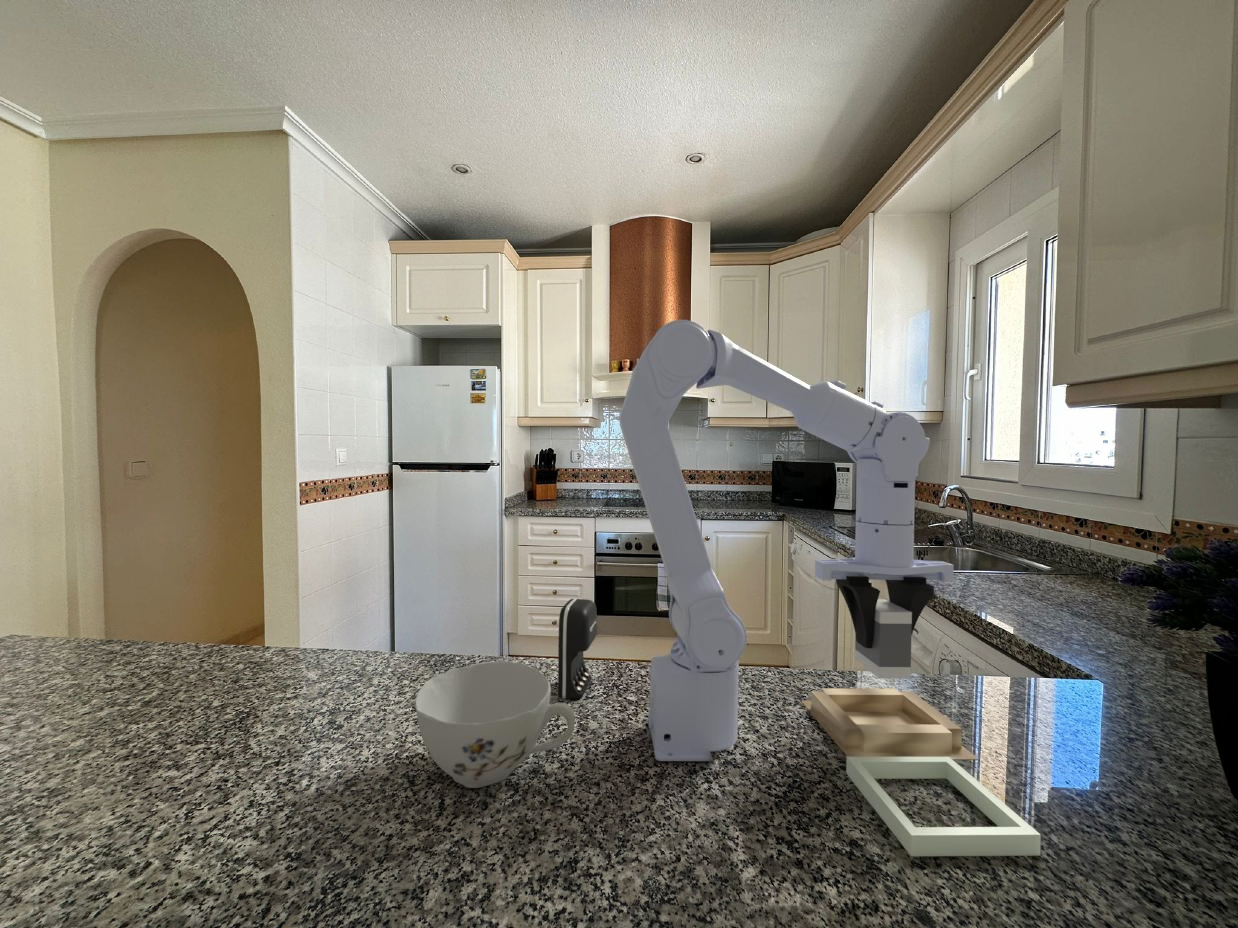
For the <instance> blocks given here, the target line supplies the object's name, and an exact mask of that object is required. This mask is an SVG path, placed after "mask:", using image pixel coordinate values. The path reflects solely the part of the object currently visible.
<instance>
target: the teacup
mask: <svg viewBox="0 0 1238 928" xmlns="http://www.w3.org/2000/svg"><path fill="white" fill-rule="evenodd" d="M551 690H552V689H551V683H550V680H548V679H547V677H546V676H544V674H543V673H542V671H541V670H539V669H538V668H535V667H532V666H531V665H529V664H525V663H521V662H513V661H487V662H477V663H473V664H470V665H466V666H461V667H453V668H450V669H447V670H446V671H445V672H444V673H439V674H437V675H434V676H433V677H431V678H430V679H429V680H427V681H425V682H424V684H423V685H422V687H421V688H420V689H419V690H418V692H417V694H416V697H415V701H414V703H415V710H416V711H415V712H416V718H417V723H418V728H419V732H420V736H421V738H422V742H423V744H424V746H425V748H426V750H427V752H428V754H429V756H430V757H431V758H432V760H433V761H434V762H435V763H436V765H437V766H438V767H439V768H440V769H441V770H442V771H444V773H446V774H447V775H448V776H451V777H452V779H453V781H454V782H456V783H457V784H460V785H462V786H464V787H465V788H469V789H477V788H478V789H479V788H482V787H483V788H484V787H487V786H491V785H494V784H497V783H499V782H502V781H504V780H505V779H506V778H507V777H509V775H510V774H512V773H513V771H514V770H515V769H517V768H518V766H520V765H521V764H522V763H523V762H524V760H525V759H526V758H527V757H529V756H530V755H532V754H535V753H542V752H545V751H549V750H554V749H558V748H559V747H561V746H562V745H563V744H564V743H566V742H567V741H569V739H570V738H571V736H572V735H573V733H574V730H575V721H576V720H575V712H574V710H573V708H572V707H571V706H570V705H569V704H568V703H565V702H555V703H553V704H550V701H551ZM557 715H558V716H563V717H564V719H565V720H566V723H567V724H566V725H567V727H566V730H565V731H564V732H562V733H561V734H560V735H559V736H557V737H555V738H553V739H551V740H546V741H545V742H541V743H538V739H539V737H540V735H541V733H542V731H543V730H544V728H545V727H546V726H547V725H548V724H549V722H550V720H551V719H552V718H553V717H554V716H557Z"/></svg>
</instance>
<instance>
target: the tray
mask: <svg viewBox="0 0 1238 928" xmlns="http://www.w3.org/2000/svg"><path fill="white" fill-rule="evenodd" d="M845 773H846V775H847V776H848V777H849V779H850V780H851V782H853V783H854V785H855V786H856V788H857V789H858V790H859V792H860V793H862V796H864V798H865V799H866V801H867V802H868V803H869V804H870V806H871V807H872V808H873V809H874V811H875V812H876V813H877V814H878V816H879V817H880V818H881V820H882V821H883V822H884V823H885V825H886V826H887V827H888V829H889V830H890V831H891V833H893V835H894V836H895V837H896V839H897V840H898V841H899V842H900V844H901V845H902V846H903V848H904V849H905V850H906V852H907V853H908V855H910V856H911V857H986V856H987V857H996V856H999V857H1002V856H1004V857H1007V856H1009V857H1013V856H1020V857H1021V856H1022V857H1023V856H1025V857H1026V856H1027V857H1028V856H1041V844H1042V843H1041V839H1042V838H1041V837H1042V836H1041V835H1042V834H1041V833H1039V832H1038V831H1037V830H1036V829H1035V828H1033V827H1032V825H1030V824H1029V823H1028V822H1027V821H1026V820H1024V819H1023V818H1022V817H1020V815H1018V814H1017V813H1016V812H1015V811H1014V810H1012V809H1011V808H1010V807H1009V806H1008V805H1006V804H1005V803H1004V802H1003V801H1002V800H1001V799H1000V798H998V797H997V796H996V795H995V794H994V793H992V792H991V791H990V789H988V788H987V787H986V786H984V785H983V784H982V783H980V782H979V780H977V779H976V778H975V777H974V776H972V775H971V774H970V773H968V771H966V770H965V769H964V768H963V767H962V766H961V765H959V763H957V762H956V760H952V759H951V758H950V757H847V756H846V770H845ZM877 779H879V780H880V779H885V780H886V779H889V780H890V779H895V780H896V779H897V780H898V779H902V780H903V779H908V780H909V779H915V780H916V779H917V780H918V779H927V780H928V779H930V780H931V779H933V780H934V779H946V780H947V781H948V782H949V783H951V784H952V786H954V787H955V789H957V790H958V791H959V792H960V793H961V794H963V795H964V796H965V797H966V799H968V800H969V801H970V802H971V803H972V804H973V805H974V806H975V807H977V809H979V810H980V811H981V812H982V813H983V814H985V816H987V818H988V819H989V820H991V821H992V822H993V823H994V824H995V825H996V826H954V827H953V826H939V827H938V826H933V827H932V826H931V827H930V826H929V827H928V826H924V827H921V826H917V827H916V826H915V825H914V824H913V822H911V820H910V819H909V817H907V816H906V814H905V813H904V811H902V810H901V808H899V807H898V805H897V804H896V803H895V802H894V800H893V799H892V798H891V797H890V796H889V794H888V793H886V791H885V790H884V789H883V788H882V787H881V785H880V784H879V783H878V782H877Z"/></svg>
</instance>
